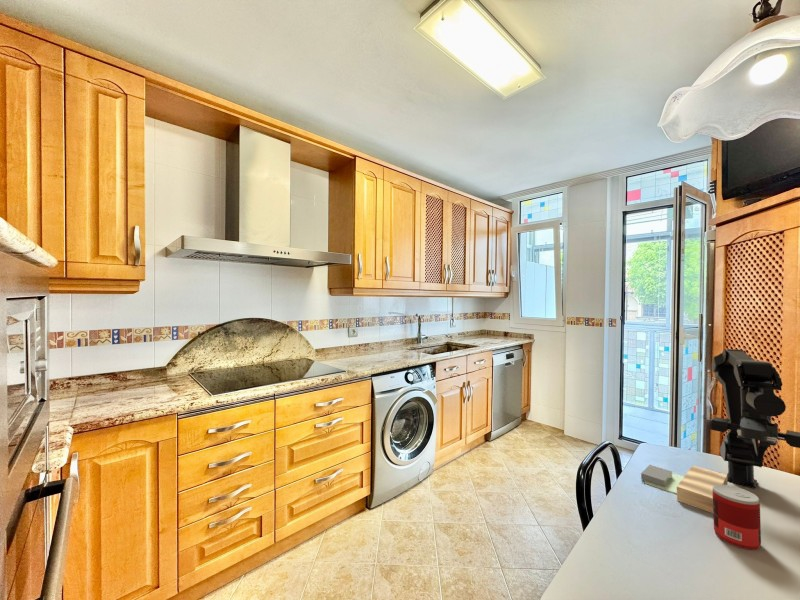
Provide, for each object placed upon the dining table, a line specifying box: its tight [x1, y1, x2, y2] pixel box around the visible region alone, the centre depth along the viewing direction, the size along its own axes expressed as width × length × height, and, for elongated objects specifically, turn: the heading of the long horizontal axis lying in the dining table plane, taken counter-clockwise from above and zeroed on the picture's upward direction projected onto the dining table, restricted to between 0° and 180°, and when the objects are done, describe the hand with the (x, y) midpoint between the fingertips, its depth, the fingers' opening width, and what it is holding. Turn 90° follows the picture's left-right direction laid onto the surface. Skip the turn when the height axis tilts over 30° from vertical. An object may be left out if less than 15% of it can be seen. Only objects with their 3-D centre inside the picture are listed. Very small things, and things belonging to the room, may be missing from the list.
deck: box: [676, 465, 728, 514], centre depth 98 cm, size 20×8×4 cm, turn 128°
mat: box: [643, 472, 685, 495], centre depth 105 cm, size 14×9×1 cm, turn 128°
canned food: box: [712, 484, 762, 551], centre depth 79 cm, size 8×8×11 cm
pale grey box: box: [640, 464, 673, 487], centre depth 106 cm, size 9×6×2 cm, turn 129°
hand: (757, 462), depth 92 cm, fingers closed
